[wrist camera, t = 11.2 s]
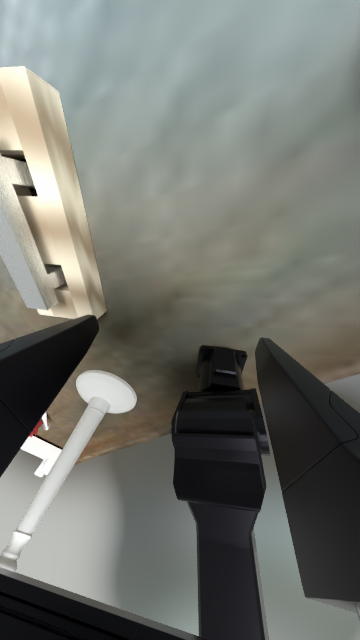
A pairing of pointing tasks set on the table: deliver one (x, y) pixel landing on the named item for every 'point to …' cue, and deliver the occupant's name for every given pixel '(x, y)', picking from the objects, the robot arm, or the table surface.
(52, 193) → the maple rail
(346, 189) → the table surface
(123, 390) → the candlestick
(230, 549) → the robot arm
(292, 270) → the table surface
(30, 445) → the bracket
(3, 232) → the steel clip
